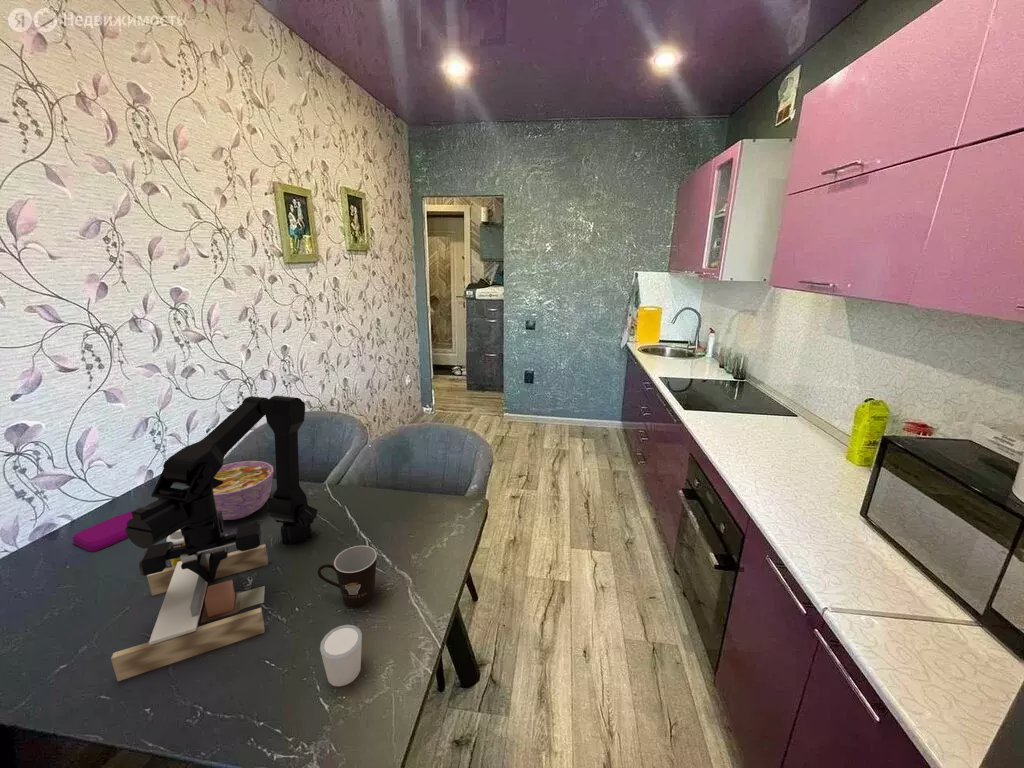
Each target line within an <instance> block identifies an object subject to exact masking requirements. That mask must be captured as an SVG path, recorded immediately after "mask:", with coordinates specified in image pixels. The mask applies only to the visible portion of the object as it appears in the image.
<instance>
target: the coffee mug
mask: <svg viewBox="0 0 1024 768" xmlns="http://www.w3.org/2000/svg"><path fill="white" fill-rule="evenodd" d="M377 556H378V555H377V551H376V550H375V548H373V547H371V546H369V545H355V546H352V547H349V548H346V549H344V550H342V551H340V553H338V554H337V556H336V557H335V559H334V560H333V564H330V563H326V564H323V565H321V566H319V568H318V569H317V576H318V577H319V578H320V579H321V580H323V581H324V582H326V583H328V584H329V585H331V586H334V587H336V588H339V590H340V593H341V597H342V602H343V604H344V606H346V607H347V608H350V609H359V608H362V607H365V606H366V605H368V604H369V603H371V601H372V600H373V599H374V597H375V588H376V587H375V585H376V573H377V572H376V571H377V558H378V557H377ZM325 568H330V569H332V570H333V571H334V572H335V574H336V578H337V581H338V583H337V582H335V581H332V580H330V579H328V578H326V576H323V574H322V573H321V572H322V570H323V569H325Z"/></svg>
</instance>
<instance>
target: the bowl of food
mask: <svg viewBox="0 0 1024 768" xmlns="http://www.w3.org/2000/svg"><path fill="white" fill-rule="evenodd" d="M273 477H274V466H273V465H271V464H270V463H269V462H265V461H262V460H261V461H260V460H259V461H258V460H246V461H238V462H232V463H227V464H224V465H223V466H222V467H221V469H220V470H219V471H218V473H217V474H216V475H215V477H214V478H215V479H218V480H221V481H223V484H221V485H219V486H218V487H216V488H214V489H213V493H214V498H215V504H216V509H217V511H222V516H223V521H224V520H225V521H227V520H228V521H233V520H234V521H236V520H240V519H243V518H246V517H248V516H251V515H252V514H253V513H254V512H257V511H258V510H260V509H261V508H262V507H264V505H265V503H266V502H267V500H268V498H269V497H271V496H270V495H271V491H272V485H273Z"/></svg>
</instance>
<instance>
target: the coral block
mask: <svg viewBox="0 0 1024 768" xmlns="http://www.w3.org/2000/svg"><path fill="white" fill-rule="evenodd" d="M235 592H236V591H235V588H234V582H233V579H230V580H226V581H223V582H219V583H215V584H214V583H213V584H212V585H211V584H210V585H207V588H206V592H205V596H204V605H205V604H206V609H207V614H208V617H211V616H214V615H217V614H221V613H224V612H227V611H231V610H233V607H234V600H235Z"/></svg>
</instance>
